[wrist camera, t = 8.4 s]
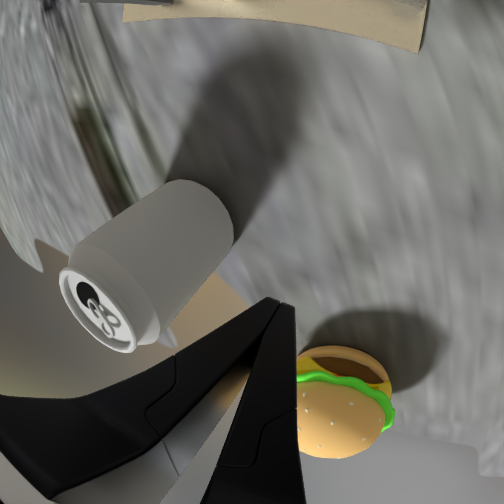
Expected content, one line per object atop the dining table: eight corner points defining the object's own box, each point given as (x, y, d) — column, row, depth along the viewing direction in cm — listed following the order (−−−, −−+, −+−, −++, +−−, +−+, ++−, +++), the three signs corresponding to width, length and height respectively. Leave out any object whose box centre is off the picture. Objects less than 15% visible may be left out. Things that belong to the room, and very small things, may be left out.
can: (191, 155, 22) (60, 236, 13) (258, 232, 23) (164, 352, 14) (146, 208, 27) (43, 288, 18) (202, 271, 28) (118, 369, 19)
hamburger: (276, 385, 34) (246, 448, 27) (294, 316, 27) (256, 397, 20) (373, 414, 30) (356, 481, 24) (421, 354, 23) (413, 442, 17)
